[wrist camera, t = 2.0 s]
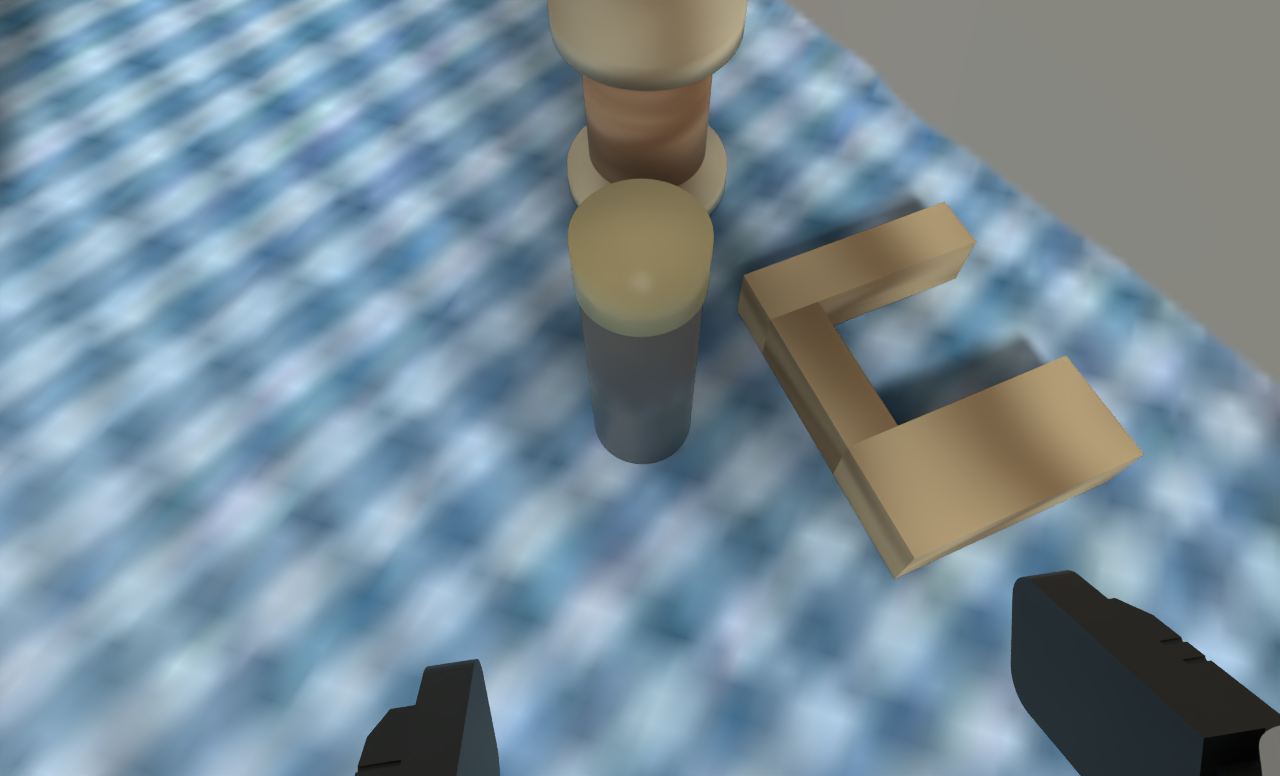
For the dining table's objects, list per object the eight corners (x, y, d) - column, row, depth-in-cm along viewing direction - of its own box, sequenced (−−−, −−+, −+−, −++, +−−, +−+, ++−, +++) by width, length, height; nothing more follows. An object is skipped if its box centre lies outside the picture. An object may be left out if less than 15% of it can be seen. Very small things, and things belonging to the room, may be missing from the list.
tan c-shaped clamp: (894, 578, 28) (914, 558, 26) (736, 310, 33) (743, 275, 31) (1108, 480, 30) (1143, 453, 28) (926, 239, 35) (944, 201, 33)
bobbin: (604, 260, 35) (591, 90, 27) (546, 147, 38) (520, -35, 30) (752, 208, 36) (782, 31, 28) (685, 103, 39) (695, -83, 31)
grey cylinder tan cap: (615, 481, 30) (600, 314, 20) (577, 397, 31) (546, 205, 22) (709, 443, 30) (739, 264, 21) (667, 362, 32) (676, 161, 22)
